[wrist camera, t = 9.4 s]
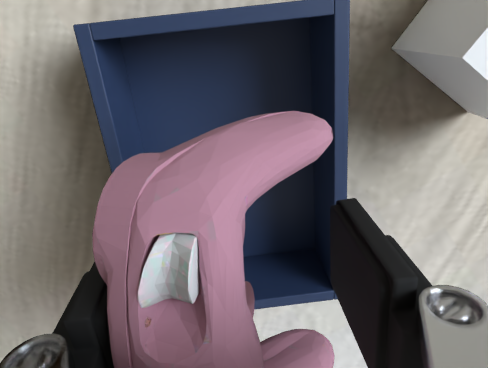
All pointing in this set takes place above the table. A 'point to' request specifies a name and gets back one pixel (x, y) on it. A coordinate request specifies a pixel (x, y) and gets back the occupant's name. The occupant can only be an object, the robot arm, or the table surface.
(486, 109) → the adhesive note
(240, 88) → the navy bin
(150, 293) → the video game controller
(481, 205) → the table surface
